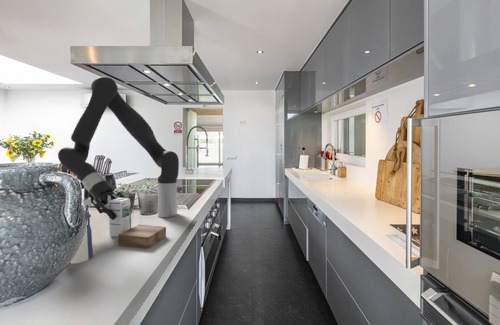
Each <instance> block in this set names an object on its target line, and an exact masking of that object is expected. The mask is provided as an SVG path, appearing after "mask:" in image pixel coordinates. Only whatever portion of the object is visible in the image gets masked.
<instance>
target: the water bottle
mask: <svg viewBox="0 0 500 325" xmlns="http://www.w3.org/2000/svg"><path fill="white" fill-rule="evenodd" d="M85 184H86V185H87V187H86V188H85V189H86V190H87V188H90V189H92V188H91V185H92V184H93V183H91V182H90V181H89V179H88V181H87V182H85ZM82 200H83V201H84V204H85V205H86V207H87V210H88V225H87V231H86V235H85V238H84V240H83V243H82V245H81V247H80V249H79V251H78V253H77V254H76V256H75V257H74V259H73V260H72V262H71V264H70V265H74V264H81V263H84V262H87V261H90V260H91V259H93V257H94V252H93V251H94V250H93V238H92V237H93V236H92V235H93V234H92V227H91V223H90V222H91V221H90V220H91V217H92V215H91V214H90V211H89V207H91V206H92V205H93V204H92V198H91V196H89V197H88V198H87V199H82Z"/></svg>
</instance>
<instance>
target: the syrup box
mask: <svg viewBox="0 0 500 325" xmlns="http://www.w3.org/2000/svg"><path fill="white" fill-rule="evenodd" d="M109 202H110V203H111V205H110V210H111V209H112V211H113V212H114V213H115V214H116V215H117V217H116V218H115V219H114V220H112V219H111V218H110V217H109V216H108V218H109V220H108V221H109V222H108V223H109V236H110V237H116V238H118V234H120V233H122V232H124V231H127V230H129V229H131V228H132V213H131V212H132V209H131V198H128V197H125V198H117V199H114V200H110V201H109Z"/></svg>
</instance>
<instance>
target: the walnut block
mask: <svg viewBox="0 0 500 325" xmlns="http://www.w3.org/2000/svg"><path fill="white" fill-rule="evenodd" d="M166 237H167V227H166V226H162V225H161V226H158V225H149V224H136V225H135V226H133V227H131V229H129V230H127V231H124V232H122V233H120V234H118V237H117V238H118V239H117V240H118V241H117V242H118V246H123V247H129V248H130V247H131V248H140V249H150V248H152V247H153V246H154V245H156V244H158V243H159V242H160V241H162V240H163V239H165V238H166Z"/></svg>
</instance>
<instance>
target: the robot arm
mask: <svg viewBox="0 0 500 325" xmlns="http://www.w3.org/2000/svg"><path fill="white" fill-rule="evenodd" d="M90 87H91V88H90V89H91V95H90V100H89V102H88V104H87V106H86V107H85V109H84V111H83V113H82V114H81V117H80V118H79V120H78V122H77V124H76V126H75V128H74V130H73V132H72V133H71V136H70V140H71V141H72V142H74V146H73V147H68V146H67V147H63V148H61V149H60V150H58V154H57V158H58V161H59V163H60V164H61V165H63V166H64V167H65V169H67V170H68V171H69V172H71V173H73V174H74V175H75V176H76V177H77V179H78V180H79V181H80V182H81V183H82V185H83V186H84V188H85V189H86V187H87V185H86V184H85V182H87V181H88V179H89V181H90V182H91V183H93V184H92V185H91V188H92V189H90V188H87V189H86V191H87V192H88V193H89V194H90V195H91V196H92V198H93V200H91V204H92V205H93V207H95V209H96V210H97V212H98V213H99V214H106V215H107V217H108V218H109V217H110V218H111V219H112V220H114V219H115V218H116V217H117V215H116V214H115V213H114V212H113V211H112V209H111V210H110V205H111V203H110V202H109V201H110V200H114V199H117V198H126V196H125V195H124V194H123V193H122V192H121V191H118V192H117V193H115V192H114V191H113V190H114V188H113V187H112V185H111V184H110V183H109V182H108V181H107V179H106V178H105V177H104V176H103V175H101V173H100V172H99V171H98V170H97V169H96V167H94V165H93V164H91V163H89V162H87V159H88V157H89V153H90V152H89V151H90V146H91V142H92V139H93V137H94V135H95V134H96V131H97V129H98V126H99V123H100V122H101V119H102V117H103V115H104V113H105V112H106V110H107V108H108V109H109V110H110V111H111V112H112V113H113V114H114V115H115V117H116V118H117V119H118V121H119V122H120V124H121V125H122V126H123V127H124V129H125V130H126V131H127V132H128V133H129V134H130V136H132V138H133V139H135V141H136V142H137V143H138V144H139V145H140V146H141V147H142V148H143V149H144V150H145V151H146V152H147V153H148V155H149V156H150V157H151V159H152V160H153V162H154V163H155V164H156V166H157V167H158V168H160V170H161V171H160V175H159V176H158V178H157V217H159V218H163V219H164V218H173V217H176V216H178V193H177V192H178V186H177V184H178V178H179V171H180V170H179V165H180V161H179V157H178V154H177V153H176V152H175V151H171V150H166V149H165V148H164V147H163V146H162V145H161V144H160V142H158V140H157V138H156V136H155V133H154V131H153V129H152V127H151V126H150V125H149V123H148V122H147V121H146V119H144V117H143V116H142V115H141V114H140V113H139V112H137V110H135V109H134V108H133V107H132V106H130V105H129V104H128V103H127V102H126V101H125V99H124V98H123V96H122V95H120V92H119V91H118V89H119V88H118V85H117V83H116V81H115V80H114V79H112V77H111V78H110V76H109V77H108V76H100V77H97V78H96V79H94V80H93V81H92V82H91V84H90Z"/></svg>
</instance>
